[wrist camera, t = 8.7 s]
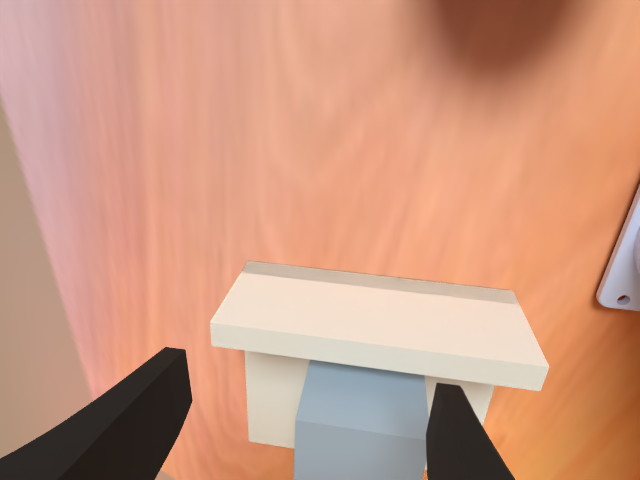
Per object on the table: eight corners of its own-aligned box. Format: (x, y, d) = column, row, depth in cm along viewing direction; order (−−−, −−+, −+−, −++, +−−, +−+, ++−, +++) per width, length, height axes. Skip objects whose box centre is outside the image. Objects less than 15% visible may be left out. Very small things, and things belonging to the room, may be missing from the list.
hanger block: (420, 335, 21) (431, 441, 15) (401, 434, 24) (405, 551, 18) (319, 322, 21) (295, 420, 16) (313, 421, 24) (292, 530, 19)
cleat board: (512, 290, 20) (549, 366, 15) (463, 458, 25) (480, 552, 21) (248, 260, 22) (209, 322, 17) (254, 425, 27) (226, 506, 22)
